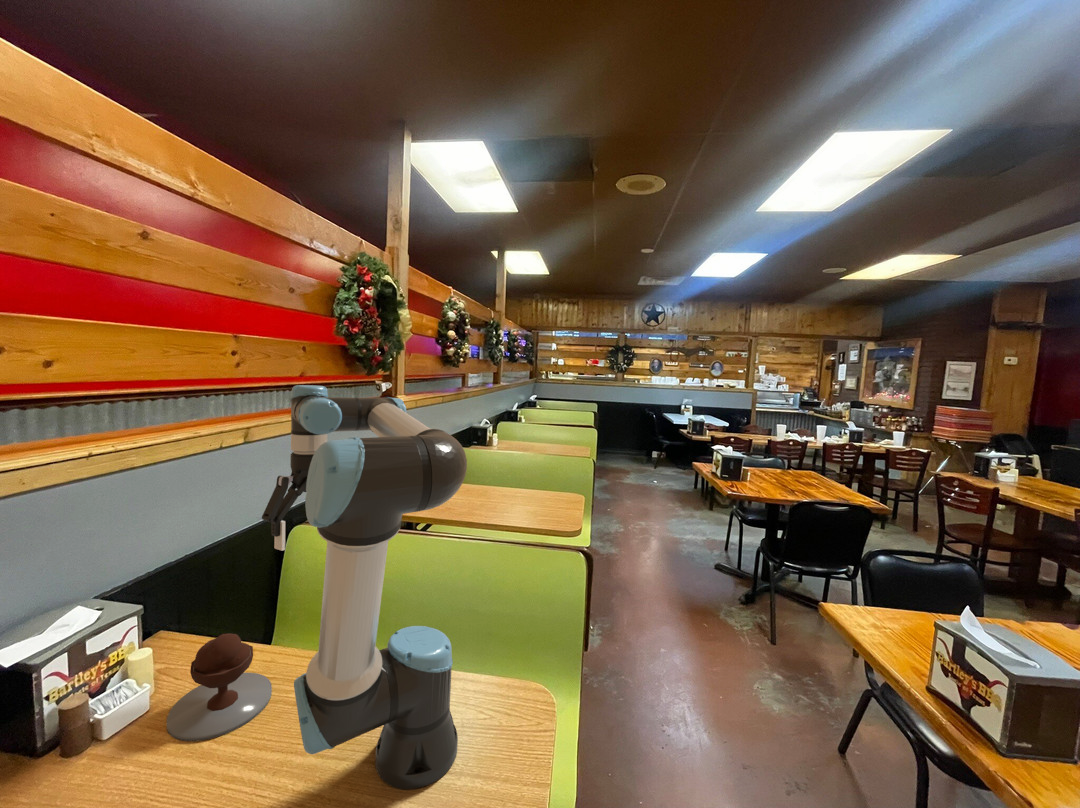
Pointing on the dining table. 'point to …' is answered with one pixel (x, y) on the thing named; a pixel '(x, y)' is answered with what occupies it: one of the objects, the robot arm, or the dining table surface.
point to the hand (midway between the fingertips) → (307, 539)
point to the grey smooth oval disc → (202, 724)
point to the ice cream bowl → (221, 667)
